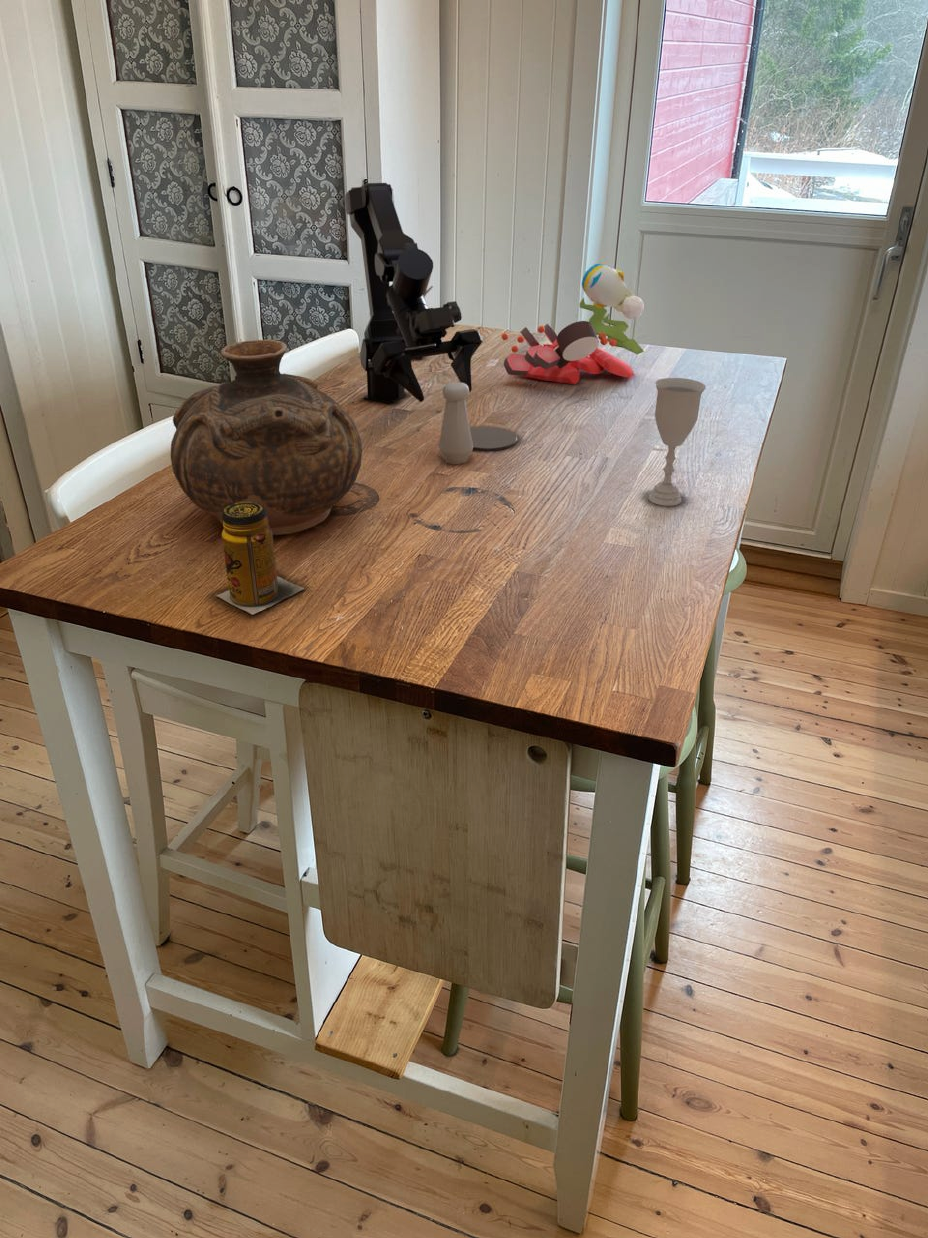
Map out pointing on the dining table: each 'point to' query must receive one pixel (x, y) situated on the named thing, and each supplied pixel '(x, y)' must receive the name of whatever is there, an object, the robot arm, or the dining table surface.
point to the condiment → (251, 559)
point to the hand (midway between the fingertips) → (446, 395)
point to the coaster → (492, 438)
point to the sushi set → (582, 335)
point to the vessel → (265, 442)
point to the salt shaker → (455, 425)
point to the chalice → (674, 427)
